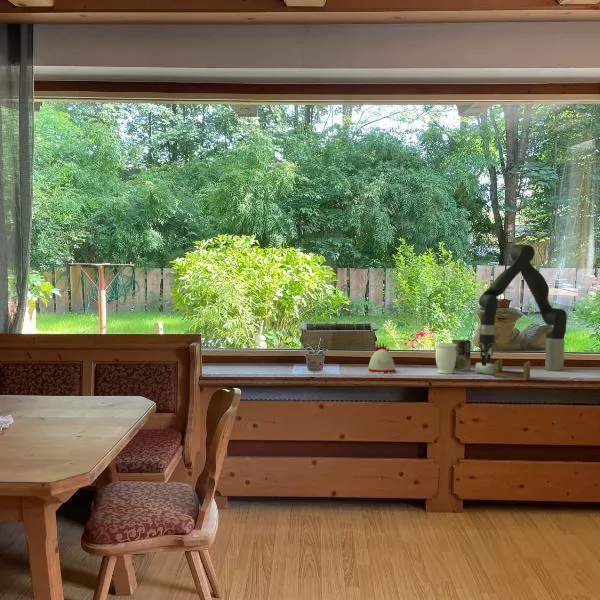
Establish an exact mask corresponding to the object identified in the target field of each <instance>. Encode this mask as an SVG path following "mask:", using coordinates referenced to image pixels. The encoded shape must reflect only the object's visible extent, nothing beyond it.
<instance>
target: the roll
mask: <svg viewBox="0 0 600 600" xmlns="http://www.w3.org/2000/svg"><path fill="white" fill-rule="evenodd" d="M474 368H475V369H474V370H475V373H476V374H478V373H483V374H482V375H489V374H495V363H491V364H488V363H486V366H482V362H476V363H475V367H474Z"/></svg>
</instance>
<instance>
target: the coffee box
mask: <svg viewBox="0 0 600 600" xmlns="http://www.w3.org/2000/svg"><path fill="white" fill-rule="evenodd" d="M451 344H456V345H457V346H456V347H455V348H456V362H455V367H454V369H453V371H454V372H471V346H472V345H471V340H469V339H452V340H451Z"/></svg>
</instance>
